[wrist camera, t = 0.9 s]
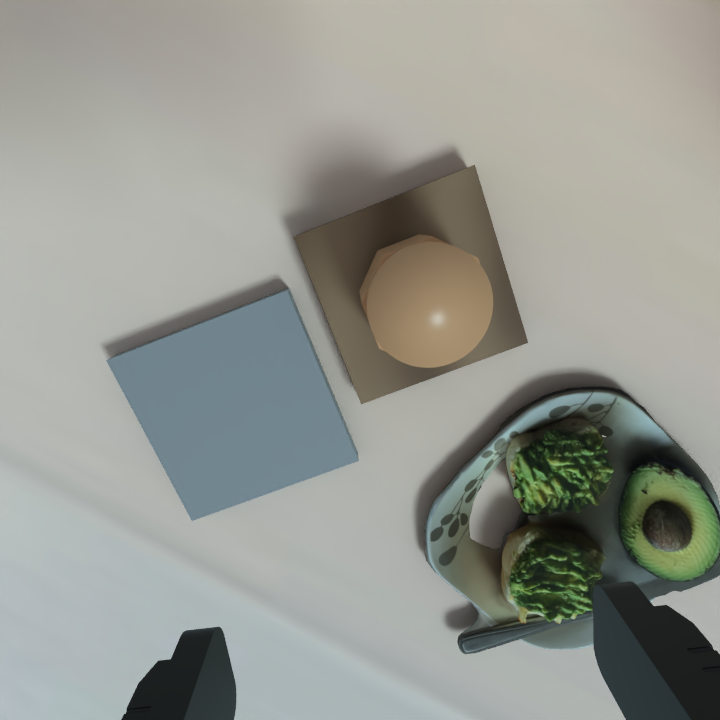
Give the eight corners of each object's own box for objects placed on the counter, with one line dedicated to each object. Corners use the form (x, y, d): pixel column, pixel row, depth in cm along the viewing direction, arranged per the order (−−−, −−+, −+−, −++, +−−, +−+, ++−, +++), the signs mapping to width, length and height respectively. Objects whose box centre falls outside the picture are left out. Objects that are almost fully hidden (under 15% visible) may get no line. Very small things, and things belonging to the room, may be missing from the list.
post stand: (468, 167, 28) (500, 153, 22) (519, 336, 30) (560, 363, 24) (296, 235, 28) (283, 239, 22) (360, 395, 31) (364, 435, 25)
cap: (449, 222, 26) (471, 222, 22) (481, 322, 28) (508, 342, 23) (347, 261, 27) (348, 270, 22) (384, 358, 28) (392, 385, 24)
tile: (288, 288, 29) (287, 290, 28) (358, 453, 32) (358, 460, 31) (114, 356, 30) (106, 360, 29) (196, 511, 32) (191, 520, 32)
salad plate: (530, 692, 38) (554, 755, 33) (355, 548, 34) (356, 597, 29) (747, 522, 34) (806, 567, 30) (579, 343, 31) (619, 363, 26)
